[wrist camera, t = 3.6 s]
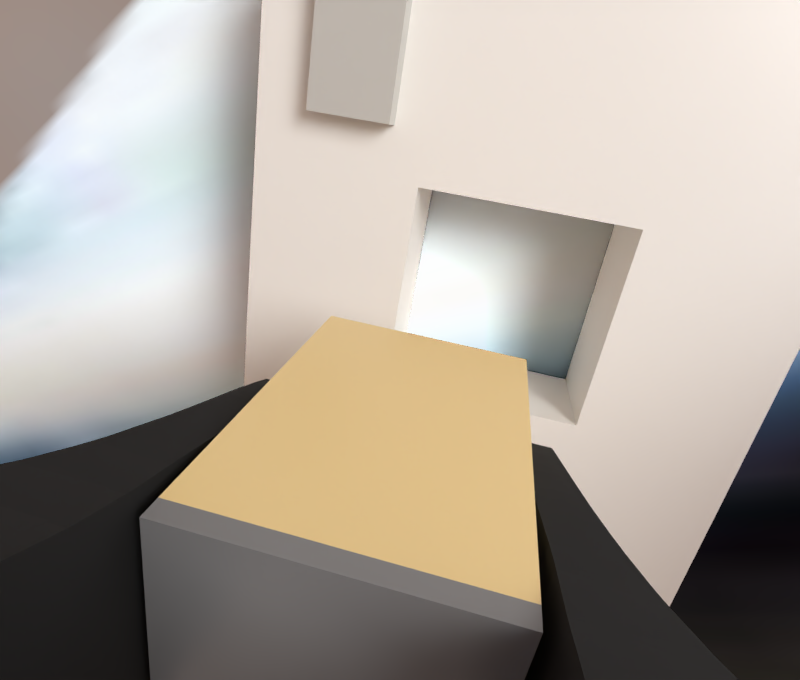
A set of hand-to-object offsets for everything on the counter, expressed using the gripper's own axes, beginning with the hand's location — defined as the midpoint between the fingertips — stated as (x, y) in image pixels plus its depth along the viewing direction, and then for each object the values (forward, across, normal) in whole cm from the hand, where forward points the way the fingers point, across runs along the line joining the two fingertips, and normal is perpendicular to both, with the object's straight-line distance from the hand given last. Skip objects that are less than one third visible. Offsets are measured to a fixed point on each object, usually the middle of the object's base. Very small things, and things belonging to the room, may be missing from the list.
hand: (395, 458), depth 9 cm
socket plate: (+8, -2, -2) cm, 8 cm away
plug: (+2, 0, 0) cm, 2 cm away
